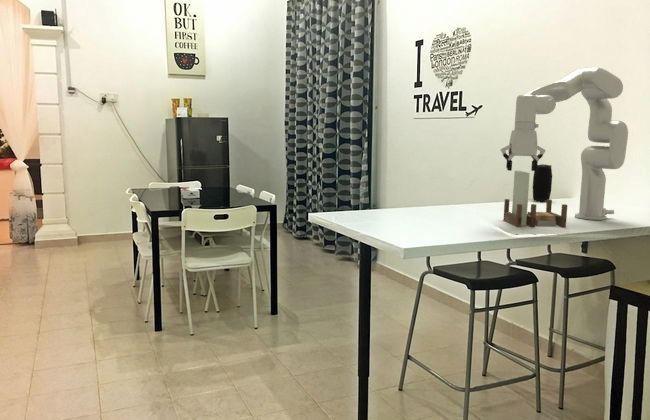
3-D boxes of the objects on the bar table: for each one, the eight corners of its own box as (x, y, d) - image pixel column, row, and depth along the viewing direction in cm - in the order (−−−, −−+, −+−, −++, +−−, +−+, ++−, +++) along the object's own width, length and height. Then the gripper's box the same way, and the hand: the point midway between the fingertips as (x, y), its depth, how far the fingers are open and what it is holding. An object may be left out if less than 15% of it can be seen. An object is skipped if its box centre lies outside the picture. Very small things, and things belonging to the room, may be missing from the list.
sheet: (516, 224, 230) (519, 170, 227) (525, 229, 219) (529, 173, 216) (511, 224, 230) (514, 170, 227) (520, 229, 219) (524, 173, 216)
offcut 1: (545, 216, 229) (546, 212, 229) (555, 220, 220) (555, 215, 219) (527, 216, 230) (527, 211, 229) (535, 220, 220) (536, 215, 219)
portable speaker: (553, 202, 296) (556, 165, 293) (536, 202, 295) (538, 165, 292) (545, 200, 304) (547, 164, 301) (528, 200, 303) (531, 164, 300)
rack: (548, 223, 233) (550, 199, 231) (565, 230, 217) (567, 204, 216) (503, 222, 233) (504, 199, 231) (516, 230, 217) (518, 204, 215)
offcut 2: (543, 221, 230) (544, 216, 230) (555, 225, 220) (556, 220, 220) (526, 221, 229) (526, 216, 229) (537, 225, 219) (537, 220, 219)
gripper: (542, 127, 223) (539, 170, 225) (499, 126, 222) (496, 169, 225) (550, 127, 215) (547, 171, 218) (505, 126, 215) (502, 171, 217)
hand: (521, 170), depth 221 cm, fingers open, 9 cm apart
